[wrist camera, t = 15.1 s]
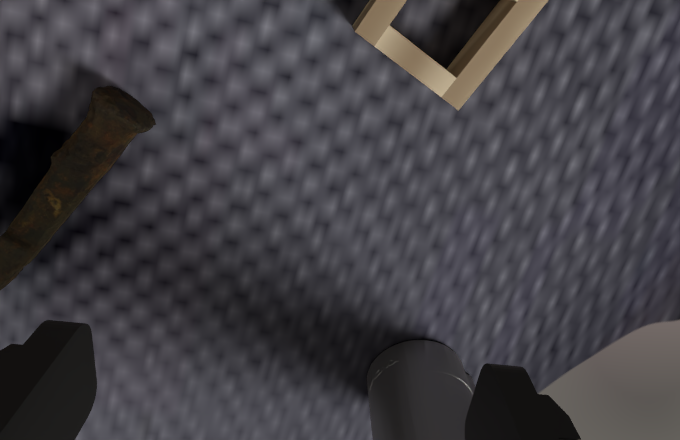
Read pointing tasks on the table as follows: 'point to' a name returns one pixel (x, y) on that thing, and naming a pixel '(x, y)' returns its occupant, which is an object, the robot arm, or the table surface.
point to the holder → (470, 63)
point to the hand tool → (72, 175)
